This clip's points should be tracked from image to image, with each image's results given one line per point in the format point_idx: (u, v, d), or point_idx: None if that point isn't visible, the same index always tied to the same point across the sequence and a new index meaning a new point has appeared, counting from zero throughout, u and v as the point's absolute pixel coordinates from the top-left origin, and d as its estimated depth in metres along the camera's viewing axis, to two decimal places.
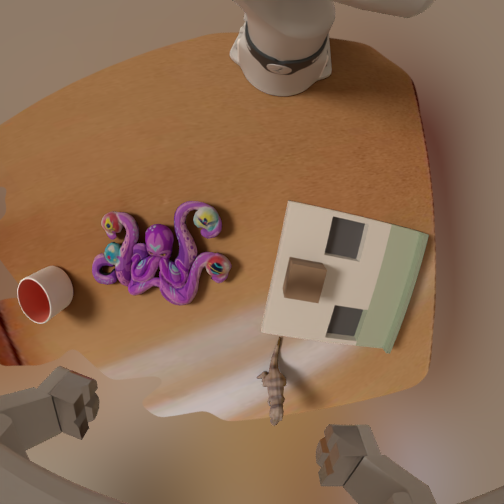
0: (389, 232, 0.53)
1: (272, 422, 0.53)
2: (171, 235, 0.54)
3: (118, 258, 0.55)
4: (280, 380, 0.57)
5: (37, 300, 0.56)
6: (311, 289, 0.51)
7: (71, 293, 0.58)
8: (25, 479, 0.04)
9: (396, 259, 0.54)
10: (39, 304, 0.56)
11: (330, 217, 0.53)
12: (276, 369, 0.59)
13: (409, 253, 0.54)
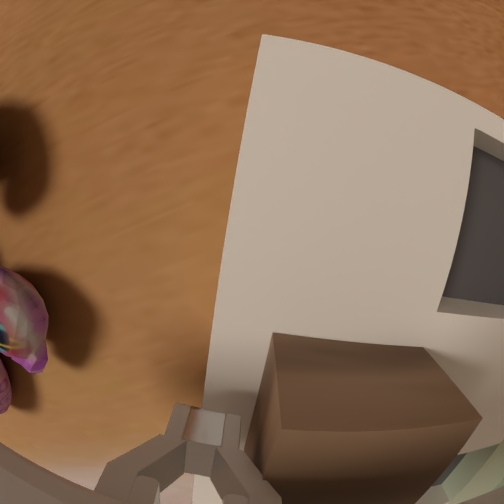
0: None
1: None
2: None
3: None
4: None
5: None
6: (380, 503, 0.07)
7: None
8: (24, 479, 0.03)
9: None
10: None
11: (466, 131, 0.08)
12: None
13: None
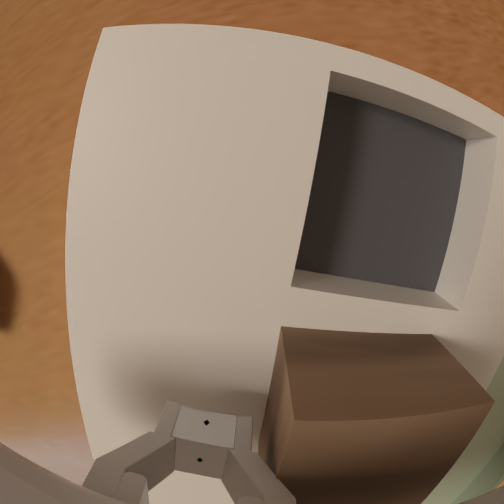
0: None
1: None
2: None
3: None
4: None
5: None
6: (396, 493, 0.07)
7: None
8: (25, 479, 0.03)
9: None
10: None
11: (317, 75, 0.08)
12: None
13: None
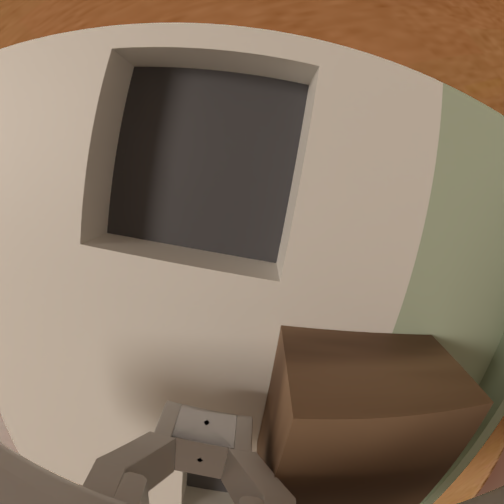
0: (440, 120, 0.08)
1: None
2: None
3: None
4: None
5: None
6: (394, 493, 0.07)
7: None
8: (24, 479, 0.04)
9: (473, 263, 0.10)
10: None
11: (100, 56, 0.08)
12: None
13: None
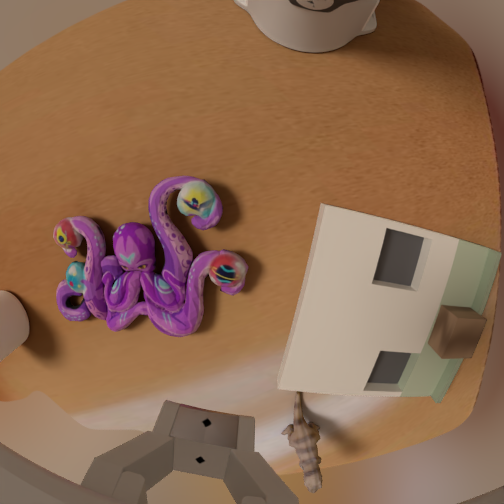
0: (456, 250, 0.35)
1: (310, 490, 0.34)
2: (149, 235, 0.35)
3: (83, 283, 0.36)
4: (309, 439, 0.38)
5: None
6: (468, 344, 0.33)
7: (26, 327, 0.40)
8: (25, 479, 0.03)
9: (460, 286, 0.36)
10: None
11: (383, 229, 0.34)
12: (302, 424, 0.40)
13: (476, 278, 0.35)
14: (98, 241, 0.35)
